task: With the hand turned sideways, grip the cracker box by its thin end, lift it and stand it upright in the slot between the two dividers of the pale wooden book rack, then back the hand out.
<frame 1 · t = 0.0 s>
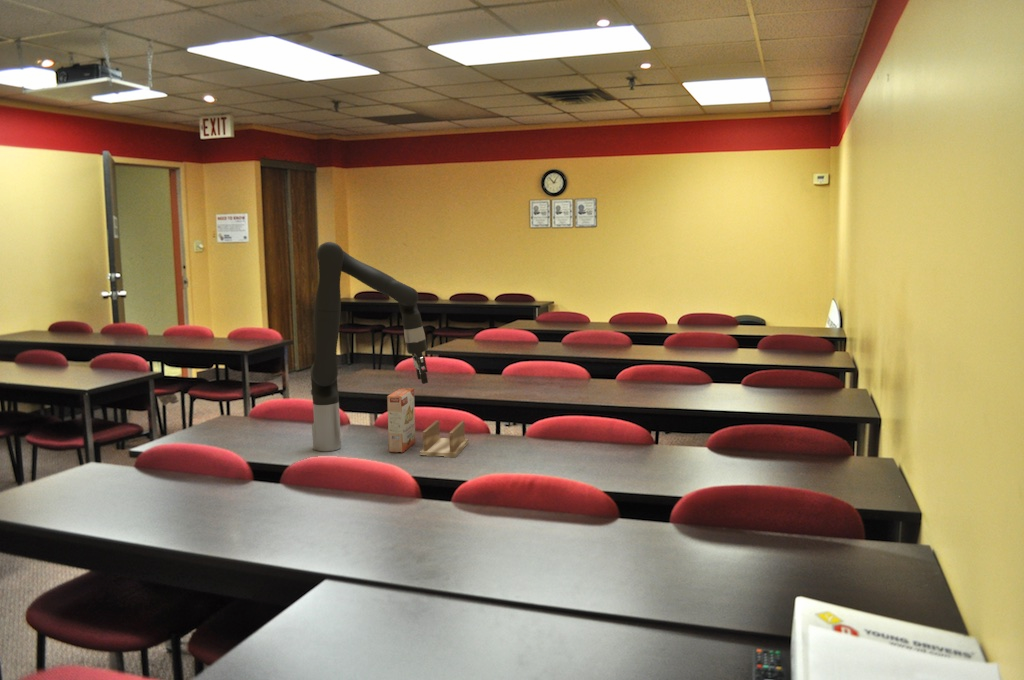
hand: (422, 381, 291), 22 cm above the table, tool pointing down, fingers open, 8 cm apart
book rack: (444, 449, 280), on the table
cracker box: (402, 448, 283), on the table
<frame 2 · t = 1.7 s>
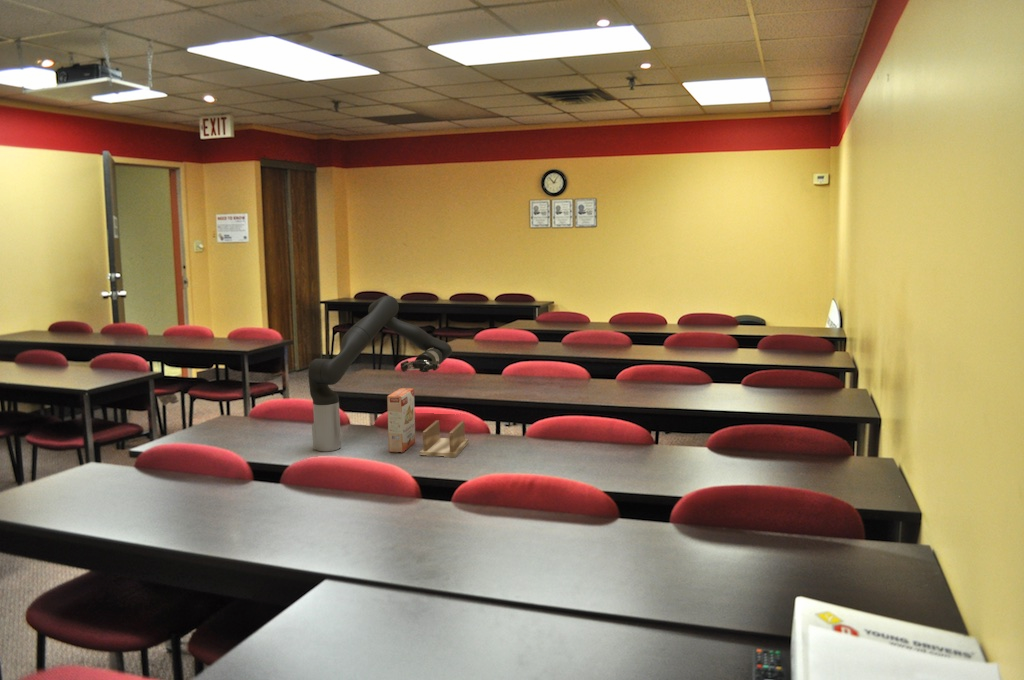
hand: (413, 369, 294), 26 cm above the table, tool horizontal, fingers open, 8 cm apart
nothing on the table moved.
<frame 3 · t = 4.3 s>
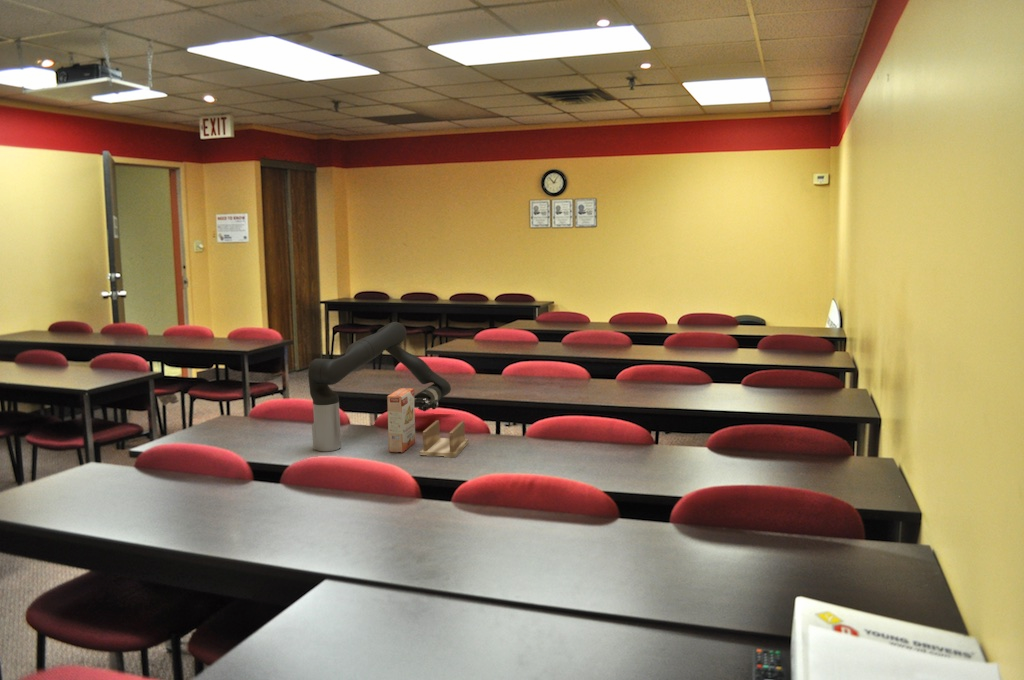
hand: (413, 408, 294), 11 cm above the table, tool horizontal, fingers open, 8 cm apart
nothing on the table moved.
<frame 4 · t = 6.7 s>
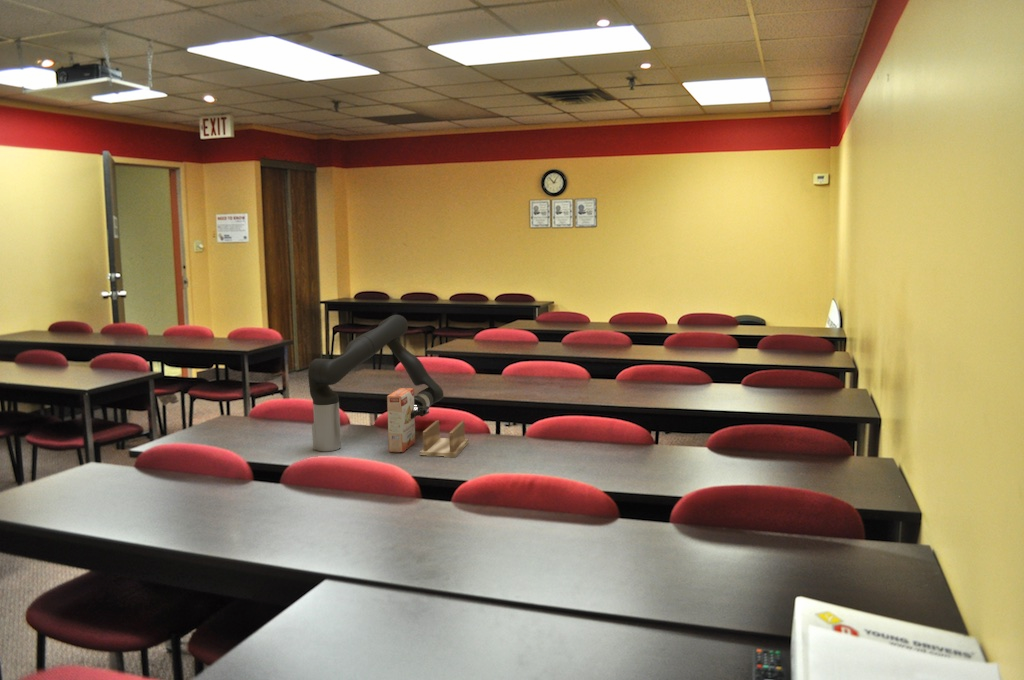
hand: (403, 415, 283), 12 cm above the table, tool horizontal, fingers closed on cracker box, 6 cm apart
cracker box: (402, 447, 283), on the table, touching gripper
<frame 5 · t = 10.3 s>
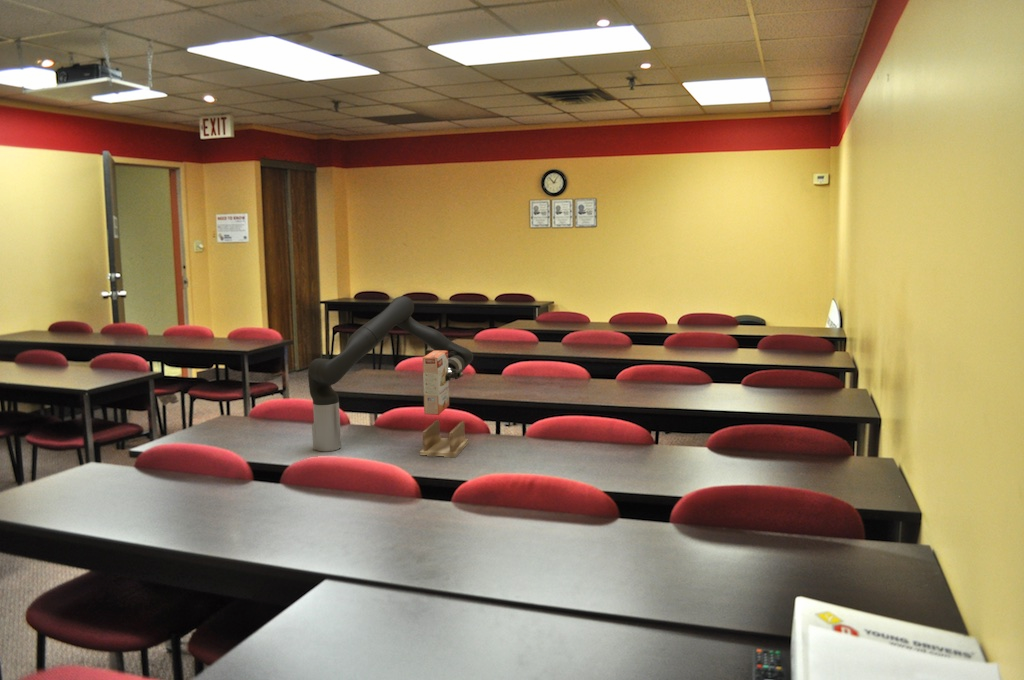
hand: (437, 378, 279), 26 cm above the table, tool horizontal, fingers closed on cracker box, 6 cm apart
cracker box: (437, 410, 279), point 14 cm above the table, touching gripper
when the fingers open (15 cm above the table, at t = 13.9 s): cracker box drops 2 cm, resting on book rack.
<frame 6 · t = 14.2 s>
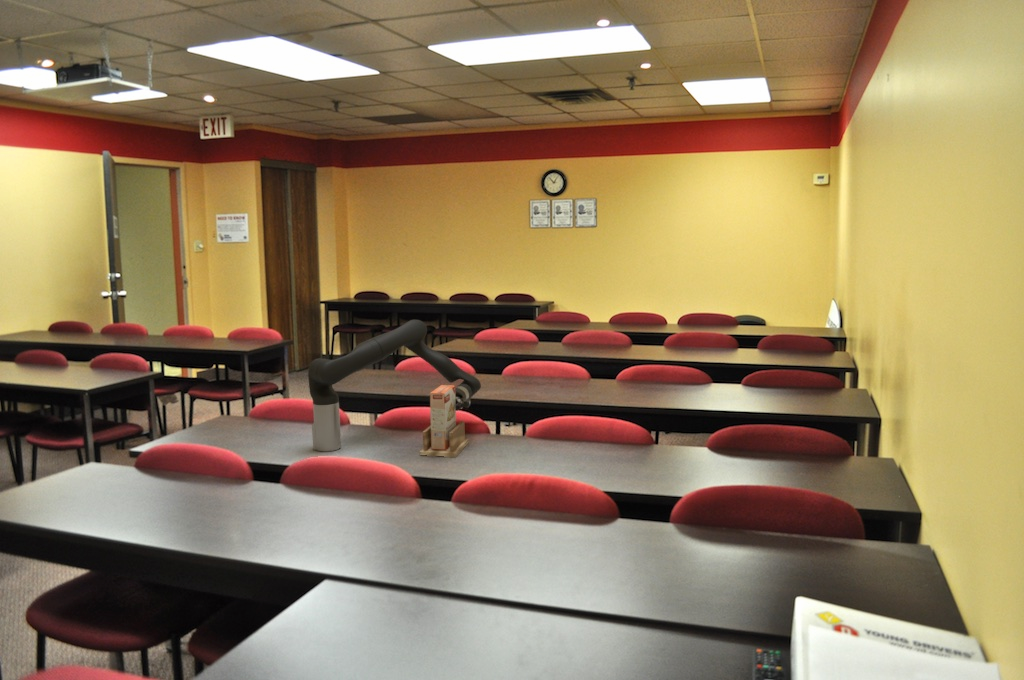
hand: (445, 407, 280), 15 cm above the table, tool horizontal, fingers open, 8 cm apart
cracker box: (444, 445, 280), point 1 cm above the table, touching book rack
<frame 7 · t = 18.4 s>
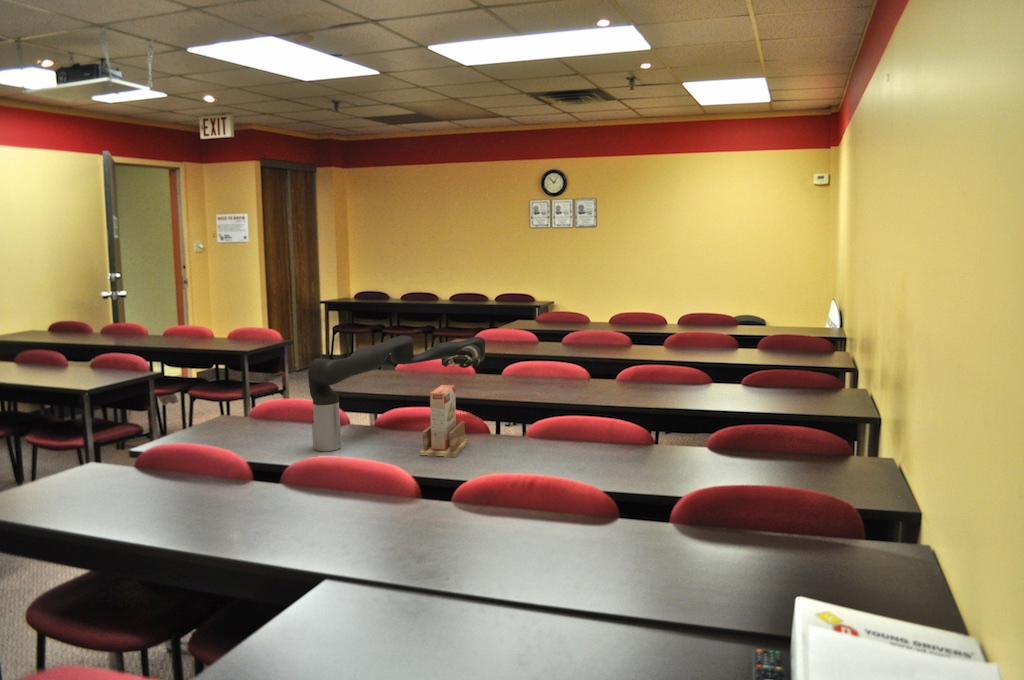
hand: (455, 364, 292), 28 cm above the table, tool horizontal, fingers open, 8 cm apart
nothing on the table moved.
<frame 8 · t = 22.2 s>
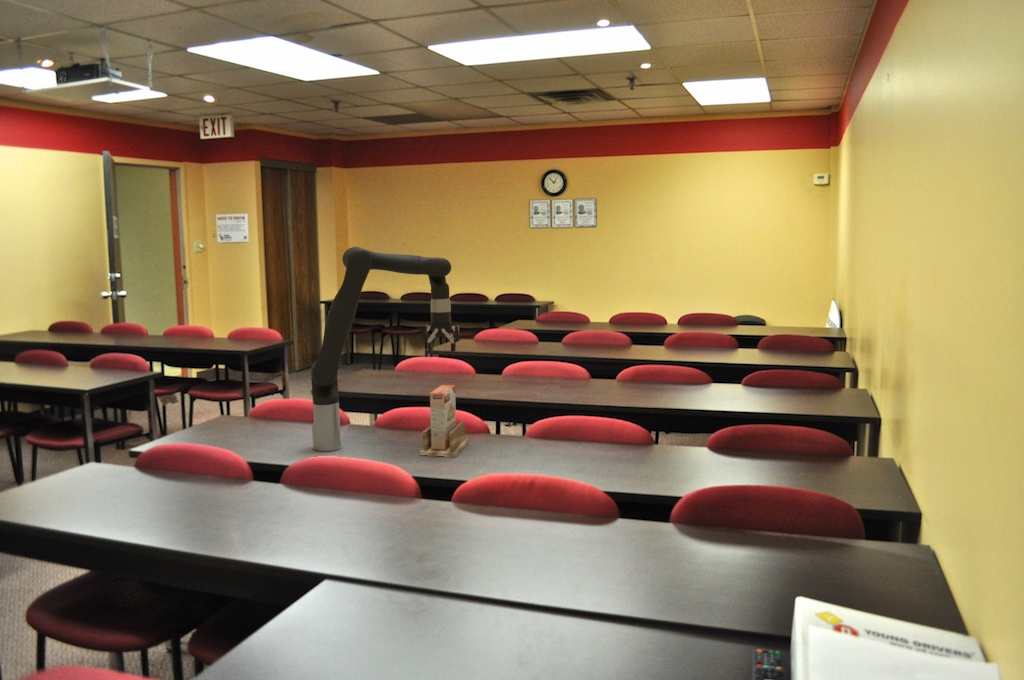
hand: (442, 352, 296), 32 cm above the table, tool pointing down, fingers open, 8 cm apart
nothing on the table moved.
at the end: cracker box 0.4 cm off-centre on the book rack, point 1.3 cm above the book rack's base; cracker box tilted 0°; the gripper is holding nothing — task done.
